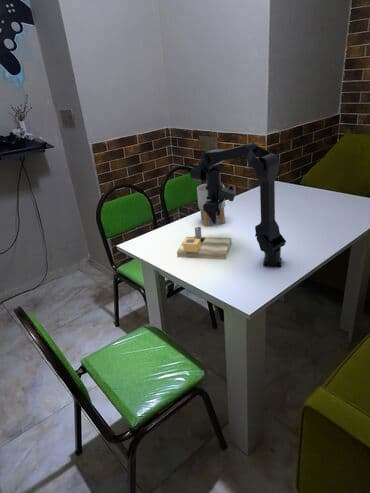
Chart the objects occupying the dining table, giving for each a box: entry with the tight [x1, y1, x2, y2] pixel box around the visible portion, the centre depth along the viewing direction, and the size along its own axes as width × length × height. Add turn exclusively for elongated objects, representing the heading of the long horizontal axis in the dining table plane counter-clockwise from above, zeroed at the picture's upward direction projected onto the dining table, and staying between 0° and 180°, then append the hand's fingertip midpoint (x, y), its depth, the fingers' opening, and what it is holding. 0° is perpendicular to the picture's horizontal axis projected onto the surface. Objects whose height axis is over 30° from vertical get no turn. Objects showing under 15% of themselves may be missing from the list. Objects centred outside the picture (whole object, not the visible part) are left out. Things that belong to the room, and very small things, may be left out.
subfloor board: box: [176, 236, 232, 260], centre depth 144 cm, size 14×20×2 cm
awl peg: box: [194, 226, 203, 242], centre depth 147 cm, size 3×3×8 cm
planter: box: [196, 183, 226, 227], centre depth 167 cm, size 13×13×18 cm
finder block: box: [182, 237, 201, 252], centre depth 140 cm, size 5×6×4 cm
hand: (216, 219), depth 143 cm, fingers open, 9 cm apart
